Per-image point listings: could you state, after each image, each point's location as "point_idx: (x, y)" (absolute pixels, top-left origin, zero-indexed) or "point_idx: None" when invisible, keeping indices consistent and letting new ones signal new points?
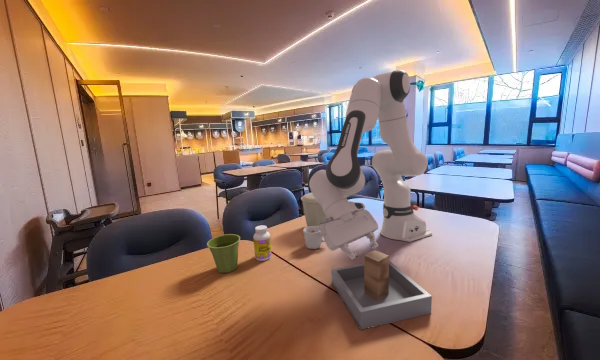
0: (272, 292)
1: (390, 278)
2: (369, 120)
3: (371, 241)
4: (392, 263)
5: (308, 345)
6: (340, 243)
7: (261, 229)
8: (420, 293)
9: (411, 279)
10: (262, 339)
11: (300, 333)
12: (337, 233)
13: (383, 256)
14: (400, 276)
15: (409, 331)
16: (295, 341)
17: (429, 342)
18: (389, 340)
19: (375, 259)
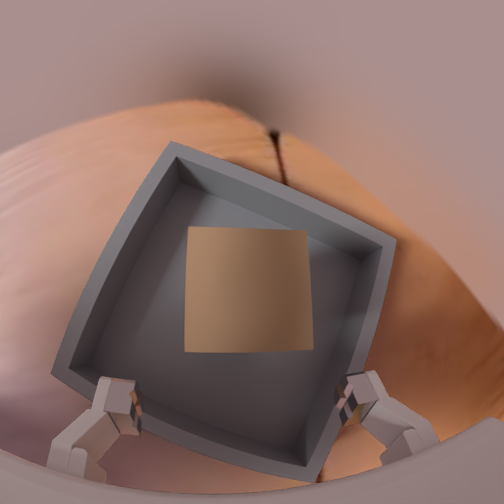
0: None
1: (111, 332)
2: None
3: (110, 434)
4: (64, 338)
5: (458, 298)
6: (479, 429)
7: None
8: (168, 176)
9: (121, 220)
10: (494, 356)
11: (458, 332)
12: (493, 497)
13: (224, 246)
14: (113, 274)
15: (278, 180)
16: (468, 320)
17: (270, 143)
18: (335, 197)
19: (300, 257)
